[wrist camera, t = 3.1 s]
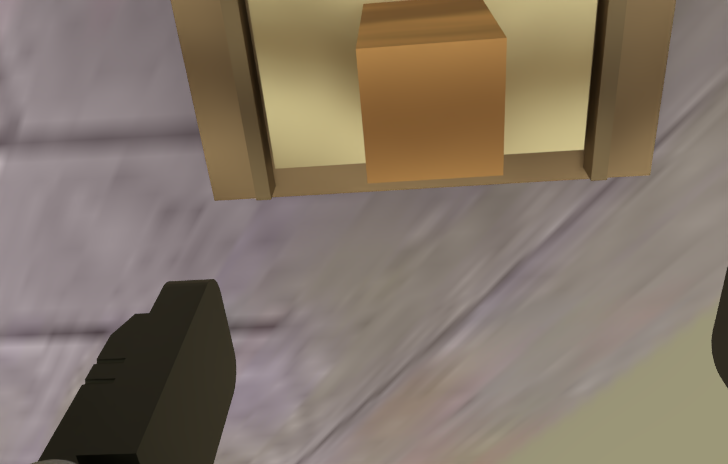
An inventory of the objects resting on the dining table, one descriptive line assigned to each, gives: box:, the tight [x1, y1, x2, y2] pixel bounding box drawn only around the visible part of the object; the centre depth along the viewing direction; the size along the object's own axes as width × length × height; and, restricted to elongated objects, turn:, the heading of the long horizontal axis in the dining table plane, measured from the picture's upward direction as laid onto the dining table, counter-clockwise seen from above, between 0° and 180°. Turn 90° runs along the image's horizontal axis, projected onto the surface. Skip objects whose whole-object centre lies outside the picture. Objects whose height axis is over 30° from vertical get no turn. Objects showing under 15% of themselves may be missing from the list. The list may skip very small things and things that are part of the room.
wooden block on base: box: [248, 0, 597, 183], centre depth 21 cm, size 8×12×7 cm, turn 95°
